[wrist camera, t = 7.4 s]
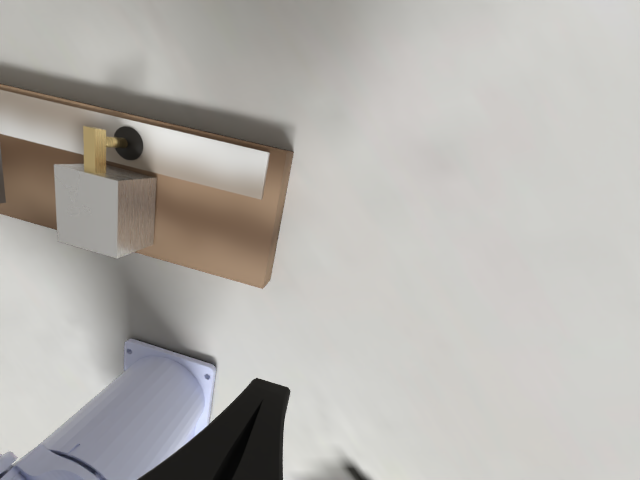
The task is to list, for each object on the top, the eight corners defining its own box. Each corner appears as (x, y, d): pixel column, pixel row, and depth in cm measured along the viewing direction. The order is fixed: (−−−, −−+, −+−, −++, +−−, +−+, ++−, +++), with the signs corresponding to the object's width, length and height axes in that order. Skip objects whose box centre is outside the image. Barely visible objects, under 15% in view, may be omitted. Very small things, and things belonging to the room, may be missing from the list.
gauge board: (270, 280, 21) (244, 310, 17) (-35, 194, 24) (-124, 201, 20) (293, 151, 19) (269, 149, 14) (-52, 71, 21) (-159, 49, 17)
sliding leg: (153, 244, 20) (117, 258, 17) (101, 230, 21) (57, 241, 18) (158, 138, 18) (118, 135, 15) (100, 124, 19) (51, 118, 16)
